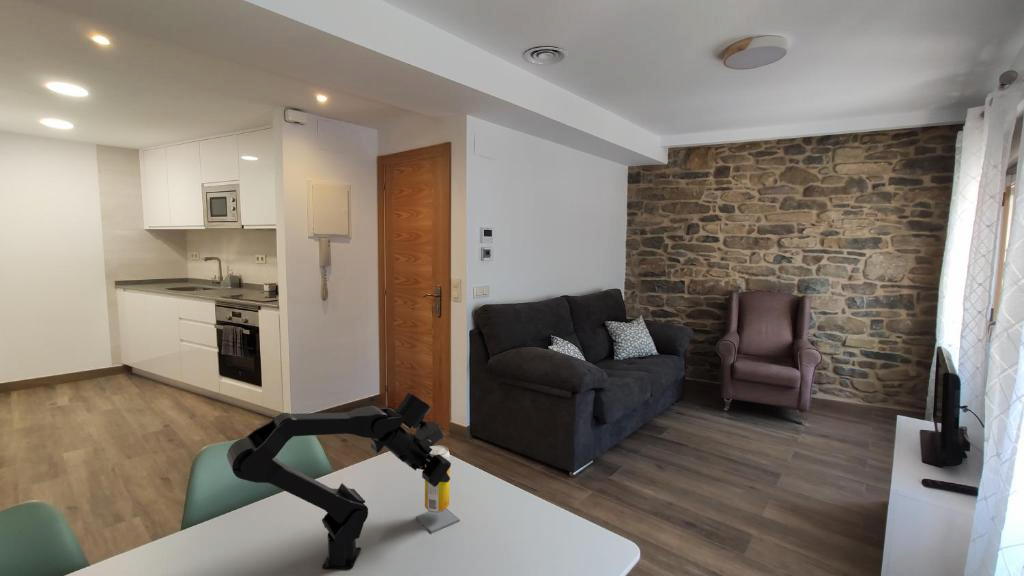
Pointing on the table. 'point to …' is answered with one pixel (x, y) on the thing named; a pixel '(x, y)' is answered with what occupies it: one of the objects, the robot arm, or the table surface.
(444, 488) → the beer can
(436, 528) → the slate mat
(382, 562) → the table surface
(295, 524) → the table surface
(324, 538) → the table surface
